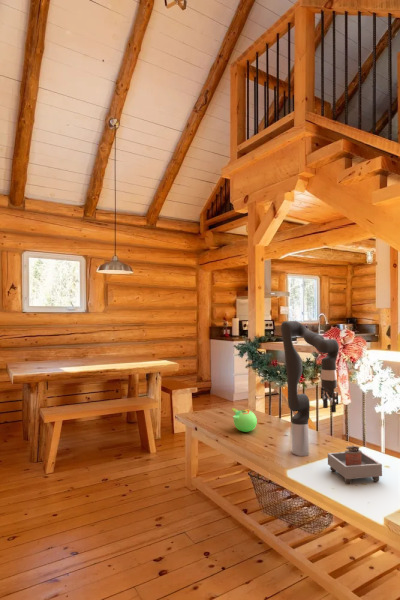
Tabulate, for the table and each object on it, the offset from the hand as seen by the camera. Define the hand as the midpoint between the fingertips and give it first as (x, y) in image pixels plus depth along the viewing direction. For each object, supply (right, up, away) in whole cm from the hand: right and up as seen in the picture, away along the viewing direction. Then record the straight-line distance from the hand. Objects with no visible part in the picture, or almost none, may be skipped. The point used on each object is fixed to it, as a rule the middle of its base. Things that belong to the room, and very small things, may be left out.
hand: (329, 410), depth 200 cm
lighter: (+9, -25, -10) cm, 28 cm away
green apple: (-36, -33, +65) cm, 81 cm away
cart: (+9, -29, -10) cm, 32 cm away
